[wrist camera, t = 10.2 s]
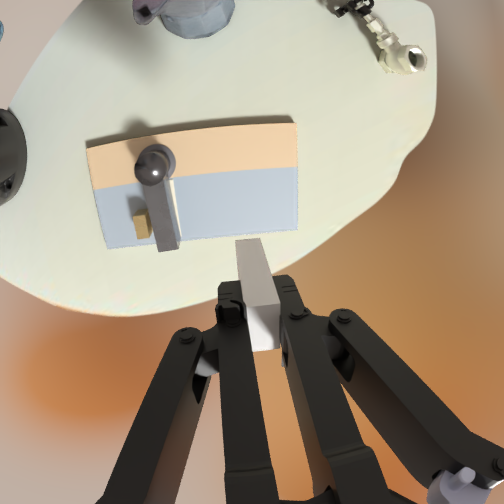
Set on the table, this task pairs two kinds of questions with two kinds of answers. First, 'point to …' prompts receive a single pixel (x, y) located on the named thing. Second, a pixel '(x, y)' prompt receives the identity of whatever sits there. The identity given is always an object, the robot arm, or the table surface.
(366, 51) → the table surface
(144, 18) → the moka pot
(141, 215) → the block
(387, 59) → the valve
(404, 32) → the table surface
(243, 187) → the door panel
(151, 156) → the latch bar
